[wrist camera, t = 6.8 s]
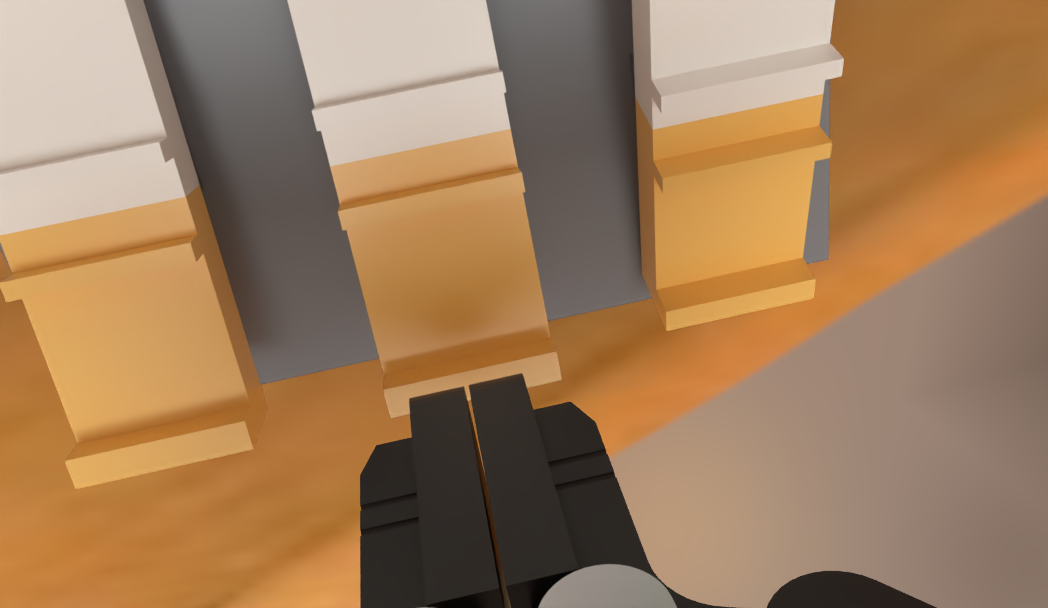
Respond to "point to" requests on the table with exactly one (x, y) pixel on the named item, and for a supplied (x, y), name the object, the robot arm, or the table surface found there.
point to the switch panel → (311, 198)
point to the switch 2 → (728, 150)
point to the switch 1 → (116, 244)
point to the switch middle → (428, 190)
